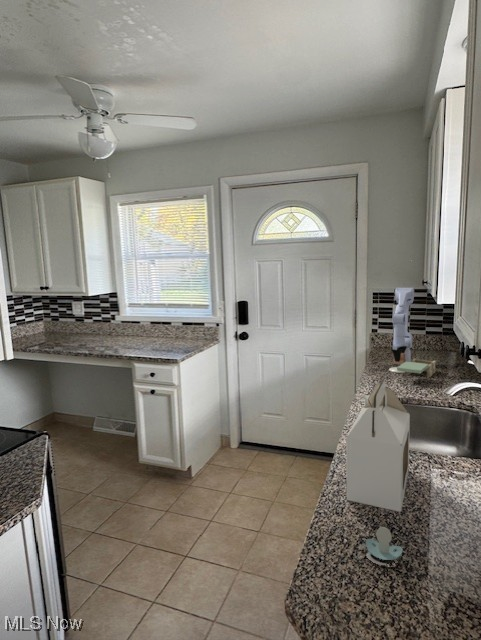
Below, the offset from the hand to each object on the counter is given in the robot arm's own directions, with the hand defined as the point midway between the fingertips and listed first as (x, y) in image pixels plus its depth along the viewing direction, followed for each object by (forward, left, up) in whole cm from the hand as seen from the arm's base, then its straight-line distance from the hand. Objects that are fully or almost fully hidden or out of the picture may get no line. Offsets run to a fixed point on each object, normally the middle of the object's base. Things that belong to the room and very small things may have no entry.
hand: (398, 360), depth 222 cm
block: (0, 0, -2) cm, 2 cm away
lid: (+15, +11, 0) cm, 19 cm away
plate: (0, 0, -6) cm, 6 cm away
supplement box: (+84, +19, -6) cm, 86 cm away
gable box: (+117, +32, -6) cm, 122 cm away
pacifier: (+144, +42, -6) cm, 150 cm away
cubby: (0, +11, -6) cm, 13 cm away
